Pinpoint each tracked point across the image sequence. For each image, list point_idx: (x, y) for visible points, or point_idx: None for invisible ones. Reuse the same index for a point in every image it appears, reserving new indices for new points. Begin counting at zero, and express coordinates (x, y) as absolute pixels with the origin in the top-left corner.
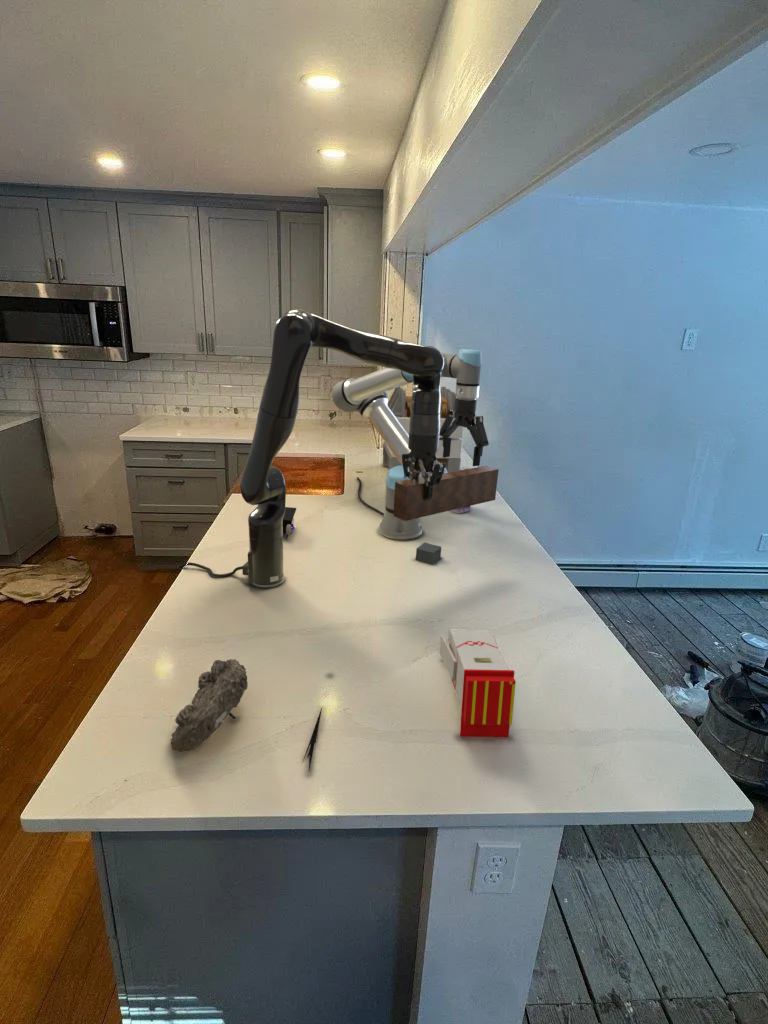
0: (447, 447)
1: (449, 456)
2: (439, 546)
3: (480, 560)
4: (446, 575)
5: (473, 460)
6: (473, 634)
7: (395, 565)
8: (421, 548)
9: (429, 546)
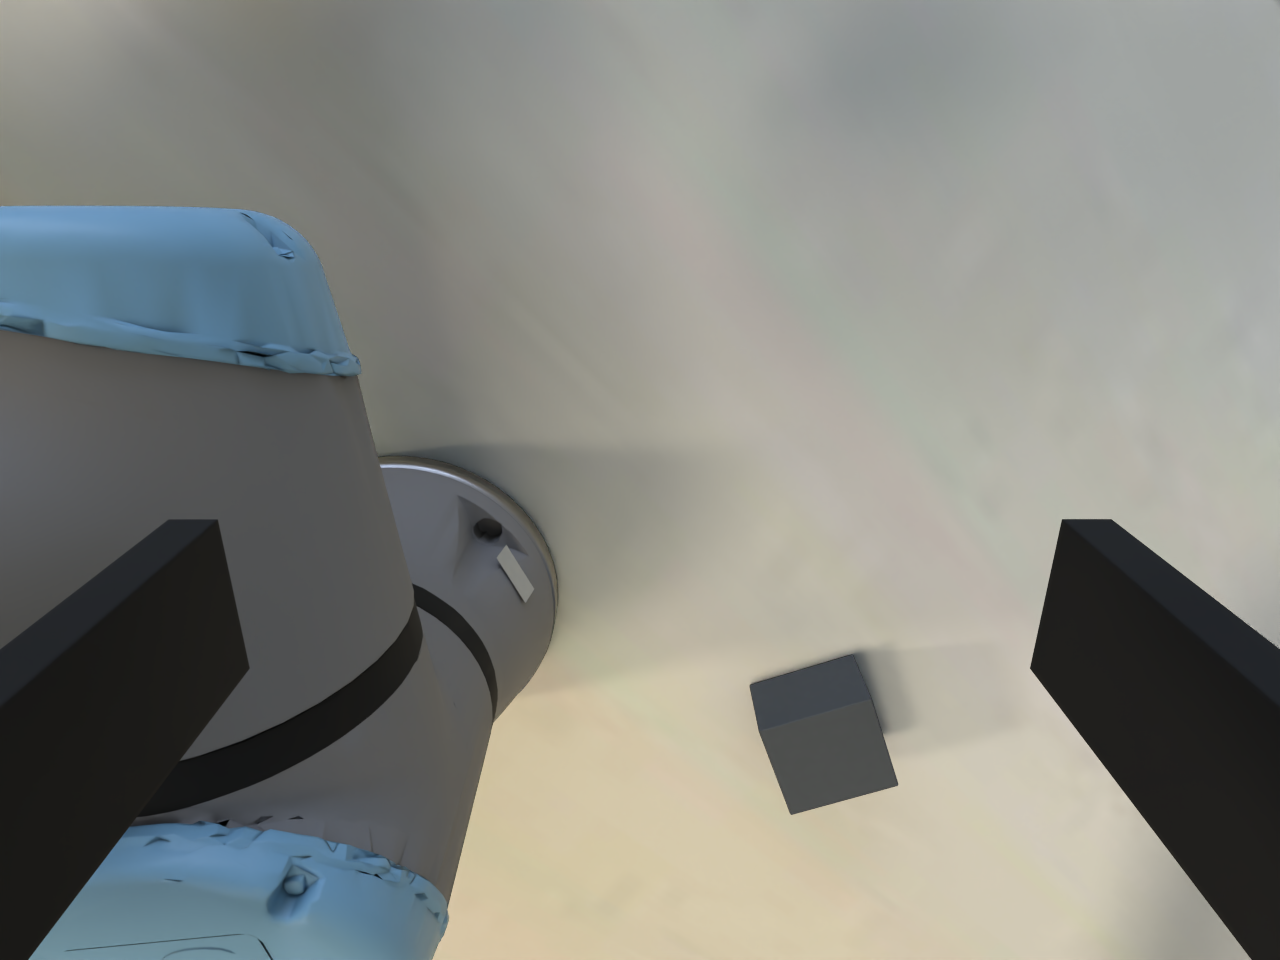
0: (105, 758)
1: (216, 526)
2: (861, 706)
3: (1041, 499)
4: (1006, 763)
5: (1105, 749)
6: None
7: (758, 863)
8: (810, 797)
9: (821, 748)
